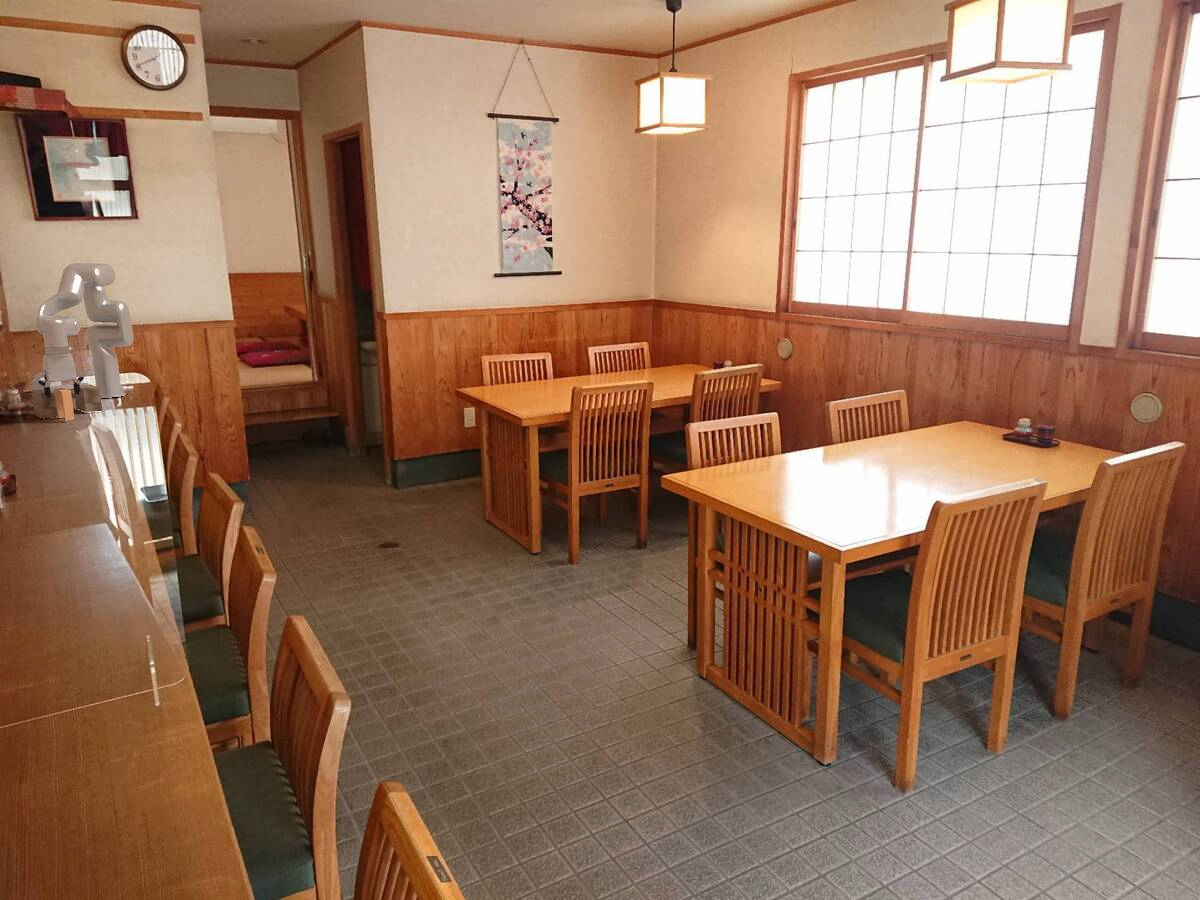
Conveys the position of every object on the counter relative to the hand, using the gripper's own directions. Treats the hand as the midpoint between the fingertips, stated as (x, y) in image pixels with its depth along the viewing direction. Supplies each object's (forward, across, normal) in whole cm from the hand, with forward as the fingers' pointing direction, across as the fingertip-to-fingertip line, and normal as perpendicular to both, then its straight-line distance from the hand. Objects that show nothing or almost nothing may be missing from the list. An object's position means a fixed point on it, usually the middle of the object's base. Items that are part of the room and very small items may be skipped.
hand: (63, 395), depth 321 cm
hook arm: (0, -5, -12) cm, 13 cm away
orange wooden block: (+10, 0, 0) cm, 10 cm away
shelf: (+10, -5, -12) cm, 16 cm away
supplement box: (+10, -3, -26) cm, 28 cm away
